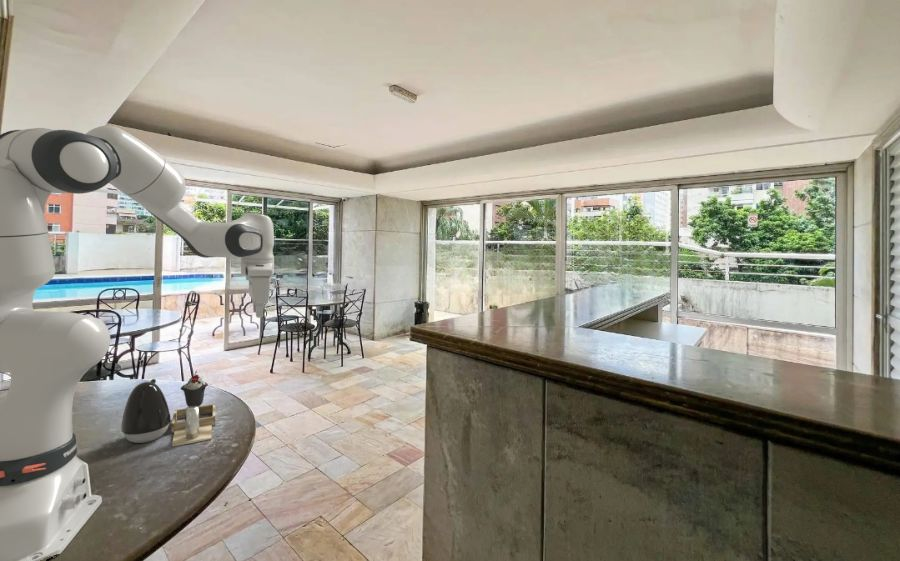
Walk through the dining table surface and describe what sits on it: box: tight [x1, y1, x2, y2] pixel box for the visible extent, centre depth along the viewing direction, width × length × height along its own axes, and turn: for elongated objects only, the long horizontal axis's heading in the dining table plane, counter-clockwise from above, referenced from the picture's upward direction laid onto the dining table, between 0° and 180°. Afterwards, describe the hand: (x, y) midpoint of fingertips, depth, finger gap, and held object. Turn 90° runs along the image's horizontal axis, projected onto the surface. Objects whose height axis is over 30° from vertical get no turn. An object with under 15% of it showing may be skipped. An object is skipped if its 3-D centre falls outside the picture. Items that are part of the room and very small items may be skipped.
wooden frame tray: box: [170, 403, 216, 448], centre depth 108 cm, size 19×10×8 cm, turn 31°
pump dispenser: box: [120, 378, 172, 444], centre depth 101 cm, size 10×10×15 cm
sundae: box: [180, 370, 209, 419], centre depth 113 cm, size 7×7×15 cm
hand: (258, 314), depth 115 cm, fingers open, 8 cm apart
